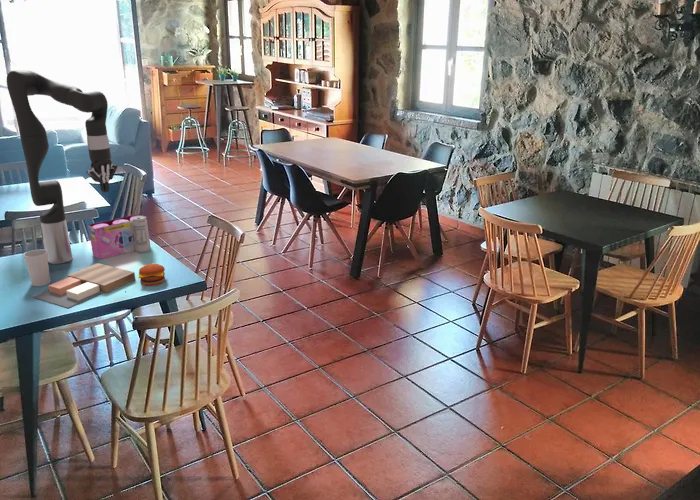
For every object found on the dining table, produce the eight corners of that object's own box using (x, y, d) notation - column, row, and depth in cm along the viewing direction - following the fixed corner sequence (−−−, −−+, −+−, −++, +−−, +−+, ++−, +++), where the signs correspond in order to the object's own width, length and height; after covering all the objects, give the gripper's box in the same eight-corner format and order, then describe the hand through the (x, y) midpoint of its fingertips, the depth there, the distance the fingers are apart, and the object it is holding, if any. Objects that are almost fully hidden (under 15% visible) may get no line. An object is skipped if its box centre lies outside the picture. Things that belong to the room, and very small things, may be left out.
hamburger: (139, 287, 222) (137, 271, 220) (141, 278, 231) (138, 262, 228) (166, 285, 224) (164, 268, 222) (166, 275, 233) (164, 259, 231)
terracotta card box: (49, 291, 218) (48, 285, 217) (71, 283, 225) (69, 276, 224) (60, 295, 215) (59, 288, 214) (81, 286, 222) (80, 279, 222)
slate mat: (32, 297, 214) (32, 296, 214) (68, 282, 226) (68, 281, 226) (68, 308, 205) (68, 307, 205) (103, 292, 218) (103, 291, 218)
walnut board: (68, 282, 226) (67, 275, 225) (99, 270, 238) (97, 263, 237) (105, 293, 217) (104, 285, 216) (135, 279, 229) (134, 272, 228)
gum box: (145, 241, 270) (142, 212, 265) (153, 246, 264) (150, 216, 259) (92, 254, 254) (87, 224, 250) (99, 259, 249) (94, 228, 244)
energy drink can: (152, 248, 261) (148, 215, 256) (148, 253, 255) (144, 219, 250) (138, 248, 261) (133, 215, 256) (134, 253, 255) (129, 220, 250)
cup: (57, 280, 228) (52, 250, 224) (41, 288, 221) (35, 257, 217) (41, 277, 231) (35, 248, 227) (24, 285, 224) (18, 255, 220)
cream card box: (67, 297, 213) (66, 290, 212) (88, 288, 221) (87, 281, 220) (78, 300, 211) (77, 294, 210) (99, 291, 218) (98, 285, 217)
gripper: (106, 143, 232) (112, 186, 238) (77, 148, 221) (84, 194, 227) (120, 144, 228) (125, 189, 234) (91, 150, 218) (98, 197, 224)
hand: (105, 191), depth 231 cm, fingers closed
